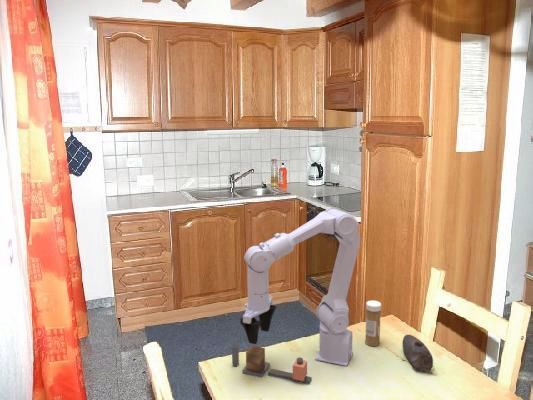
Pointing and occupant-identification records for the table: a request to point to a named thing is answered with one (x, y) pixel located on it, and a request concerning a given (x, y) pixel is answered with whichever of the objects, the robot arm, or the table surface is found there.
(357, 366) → the table surface
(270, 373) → the rail
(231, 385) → the table surface
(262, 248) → the robot arm
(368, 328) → the sprinkles bottle
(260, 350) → the block
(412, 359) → the perforated stone tool
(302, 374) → the lever handle
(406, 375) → the table surface
